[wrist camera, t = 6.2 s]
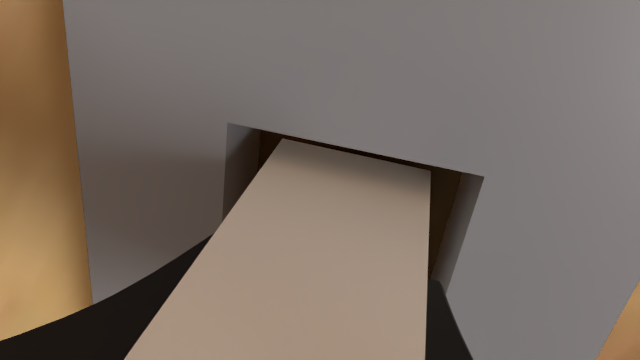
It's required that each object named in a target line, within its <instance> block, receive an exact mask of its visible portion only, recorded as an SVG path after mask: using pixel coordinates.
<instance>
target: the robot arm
mask: <svg viewBox="0 0 640 360" xmlns="http://www.w3.org/2000/svg"><path fill="white" fill-rule="evenodd" d="M213 235H214V233H213V234H212V235H210V236H209V237H207V238H205V239H204V240H202V241H201V242H199V243H198V244H196V245H195V246H193V247H192V248H190V249H189V250H187V251H186V252H184V253H183V254H181V255H180V256H178V257H177V258H175V259H174V260H172V261H170V262H169V263H167V264H166V265H164V266H162V267H161V268H159V269H158V270H156V271H154V272H153V273H151V274H150V275H148V276H146V277H144V278H143V279H141V280H139V281H137V282H136V283H134V284H132V285H130V286H128V287H127V288H125V289H123V290H121V291H119V292H118V293H116V294H114V295H112V296H110V297H108V298H106V299H104V300H102V301H100V302H98V303H96V304H93V305H91V306H89V307H87V308H85V309H82V310H80V311H78V312H76V313H74V314H71V315H69V316H66V317H64V318H62V319H59V320H56V321H54V322H51V323H48V324H46V325H43V326H41V327H38V328H35V329H33V330H30V331H27V332H25V333H22V334H20V335H17V336H14V337H11V338H8V339H5V340H2V341H0V360H124V359H125V357H126V356H127V354H128V353H129V352H130V350H131V349H132V348H133V346H134V345H135V343H136V342H137V341H138V339H139V338H140V336H141V335H142V334H143V332H144V331H145V329H146V328H147V327H148V325H149V324H150V322H151V321H152V320H153V318H154V317H155V315H156V314H157V313H158V311H159V310H160V308H161V307H162V306H163V304H164V303H165V302H166V300H167V299H168V297H169V296H170V295H171V293H172V292H173V290H174V289H175V288H176V286H177V285H178V283H179V282H180V281H181V279H182V278H183V276H184V275H185V274H186V272H187V271H188V269H189V268H190V267H191V265H192V264H193V262H194V261H195V260H196V258H197V257H198V256H199V254H200V253H201V251H202V250H203V249H204V247H205V246H206V244H207V243H208V242H209V240H210V239H211V237H212V236H213ZM425 360H473V358H472V355H471V353H470V351H469V349H468V347H467V345H466V343H465V341H464V339H463V337H462V334H461V332H460V330H459V328H458V325H457V323H456V320H455V318H454V316H453V313H452V311H451V308H450V305H449V303H448V300H447V297H446V294H445V292H444V289H443V286H442V284H441V283H440V281H437V280H433V279H427V310H426V342H425Z"/></svg>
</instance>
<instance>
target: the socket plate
mask: <svg viewBox="0 0 640 360" xmlns="http://www.w3.org/2000/svg"><path fill="white" fill-rule="evenodd" d="M63 10H64V20H65V30H66V40H67V50H68V60H69V70H70V80H71V90H72V100H73V110H74V120H75V130H76V140H77V150H78V160H79V170H80V180H81V190H82V200H83V210H84V220H85V230H86V240H87V250H88V260H89V270H90V280H91V290H92V300H93V304H96V303H98V302H100V301H102V300H104V299H106V298H108V297H110V296H112V295H114V294H116V293H118V292H119V291H121V290H123V289H125V288H127V287H128V286H130V285H132V284H134V283H136V282H137V281H139V280H141V279H143V278H144V277H146V276H148V275H150V274H151V273H153V272H154V271H156V270H158V269H159V268H161V267H162V266H164V265H166V264H167V263H169V262H170V261H172V260H174V259H175V258H177V257H178V256H180V255H181V254H183V253H184V252H186V251H187V250H189V249H190V248H192V247H193V246H195V245H196V244H198V243H199V242H201V241H202V240H204V239H205V238H207V237H209V236H210V235H212V234H213V233H215V232H216V230H217V229H218V228H219V226H220V225H221V223H222V222H223V221H224V219H225V218H226V217H227V215H228V214H229V212H230V211H231V210H232V208H233V207H234V205H235V204H236V203H237V201H238V200H239V198H240V197H241V196H242V194H243V193H244V191H245V190H246V189H247V187H248V186H249V184H250V183H251V182H252V180H253V179H254V177H255V176H256V175H257V172H258V160H259V149H260V137H261V130H266V131H270V132H275V133H280V134H285V135H289V136H294V137H299V138H304V139H308V140H313V141H318V142H323V143H327V144H332V145H337V146H342V147H346V148H351V149H356V150H361V151H365V152H370V153H375V154H380V155H384V156H389V157H394V158H399V159H403V160H408V161H413V162H417V163H422V164H427V165H432V166H436V167H441V168H446V169H451V170H455V171H460V172H462V176H461V179H460V182H459V186H458V189H457V192H456V195H455V199H454V202H453V205H452V209H451V212H450V215H449V218H448V222H447V225H446V228H445V232H444V235H443V238H442V241H441V245H440V248H439V251H438V255H437V258H436V261H435V264H434V268H433V271H432V274H431V278H430V279H433V280H437V281H440V283H441V284H442V286H443V289H444V292H445V294H446V297H447V300H448V303H449V305H450V308H451V311H452V313H453V316H454V318H455V320H456V323H457V325H458V328H459V330H460V332H461V334H462V337H463V339H464V341H465V343H466V345H467V347H468V349H469V351H470V353H471V355H472V358H473V360H595V359H596V358H597V356H598V354H599V352H600V350H601V349H602V347H603V345H604V343H605V341H606V340H607V338H608V336H609V334H610V332H611V331H612V329H613V327H614V325H615V323H616V322H617V320H618V318H619V316H620V314H621V313H622V311H623V309H624V307H625V305H626V303H627V302H628V300H629V298H630V296H631V294H632V293H633V291H634V289H635V287H636V285H637V284H638V282H639V280H640V0H63Z"/></svg>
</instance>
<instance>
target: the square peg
mask: <svg viewBox="0 0 640 360" xmlns="http://www.w3.org/2000/svg"><path fill="white" fill-rule="evenodd" d="M430 184H431V171H429V170H425V169H420V168H416V167H411V166H406V165H402V164H397V163H393V162H388V161H384V160H379V159H374V158H370V157H365V156H361V155H356V154H352V153H347V152H342V151H338V150H333V149H329V148H324V147H320V146H315V145H310V144H306V143H301V142H297V141H292V140H287V139H283V138H282V140H281V141H280V143H279V144H278V145H277V147H276V148H275V150H274V151H273V152H272V154H271V155H270V157H269V158H268V159H267V161H266V162H265V164H264V165H263V166H262V168H261V169H260V171H259V172H258V173H257V175H256V176H255V177H254V179H253V180H252V182H251V183H250V184H249V186H248V187H247V189H246V190H245V191H244V193H243V194H242V196H241V197H240V198H239V200H238V201H237V203H236V204H235V205H234V207H233V208H232V210H231V211H230V212H229V214H228V215H227V217H226V218H225V219H224V221H223V222H222V223H221V225H220V226H219V228H218V229H217V230H216V232H215V233H214V235H213V236H212V237H211V239H210V240H209V242H208V243H207V244H206V246H205V247H204V249H203V250H202V251H201V253H200V254H199V256H198V257H197V258H196V260H195V261H194V262H193V264H192V265H191V267H190V268H189V269H188V271H187V272H186V274H185V275H184V276H183V278H182V279H181V281H180V282H179V283H178V285H177V286H176V288H175V289H174V290H173V292H172V293H171V295H170V296H169V297H168V299H167V300H166V302H165V303H164V304H163V306H162V307H161V308H160V310H159V311H158V313H157V314H156V315H155V317H154V318H153V320H152V321H151V322H150V324H149V325H148V327H147V328H146V329H145V331H144V332H143V334H142V335H141V336H140V338H139V339H138V341H137V342H136V343H135V345H134V346H133V348H132V349H131V350H130V352H129V353H128V354H127V356H126V357H125V359H124V360H425V342H426V310H427V279H428V247H429V215H430Z"/></svg>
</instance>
